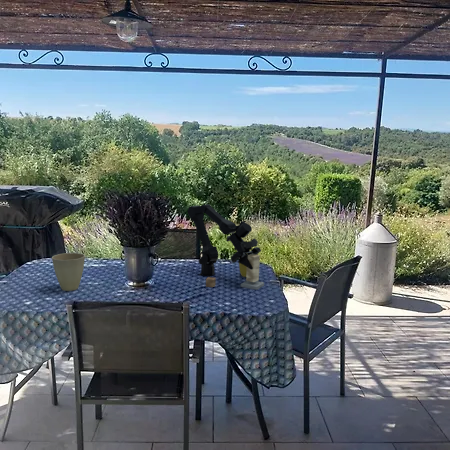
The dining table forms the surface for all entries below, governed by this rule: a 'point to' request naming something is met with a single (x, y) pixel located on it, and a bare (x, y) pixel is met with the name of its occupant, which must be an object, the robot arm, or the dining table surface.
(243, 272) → the flower pot
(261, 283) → the slate plinth
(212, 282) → the walnut cube
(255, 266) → the beech pillar
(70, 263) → the plant pot
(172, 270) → the dining table surface
